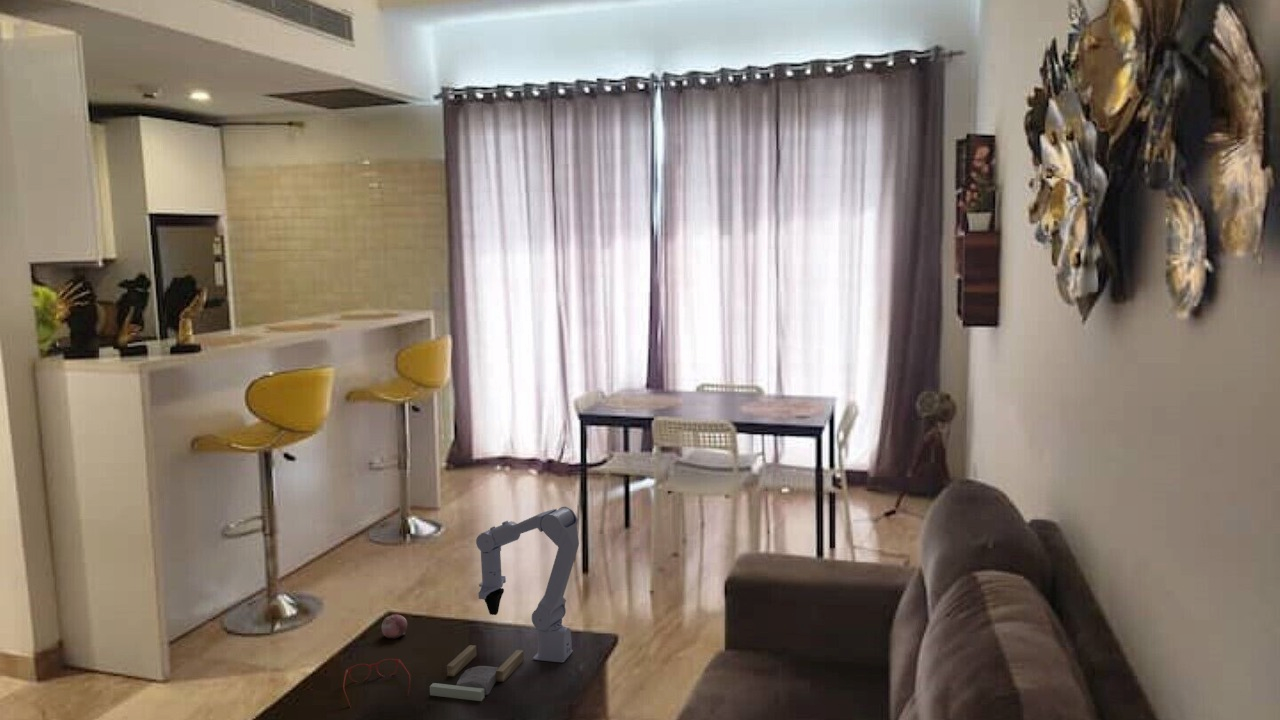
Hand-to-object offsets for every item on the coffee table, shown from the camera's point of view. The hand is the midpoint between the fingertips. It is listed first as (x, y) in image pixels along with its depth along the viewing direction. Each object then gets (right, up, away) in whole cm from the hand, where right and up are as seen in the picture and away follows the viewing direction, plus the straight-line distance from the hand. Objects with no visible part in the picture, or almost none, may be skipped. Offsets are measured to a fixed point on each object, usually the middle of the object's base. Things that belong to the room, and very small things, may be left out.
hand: (493, 613), depth 277 cm
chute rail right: (+7, -12, -16) cm, 21 cm away
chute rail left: (-7, -12, -12) cm, 18 cm away
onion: (-32, -10, +11) cm, 35 cm away
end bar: (-5, -14, -30) cm, 34 cm away
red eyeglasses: (-28, -14, -25) cm, 40 cm away
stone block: (-1, -13, -24) cm, 28 cm away
